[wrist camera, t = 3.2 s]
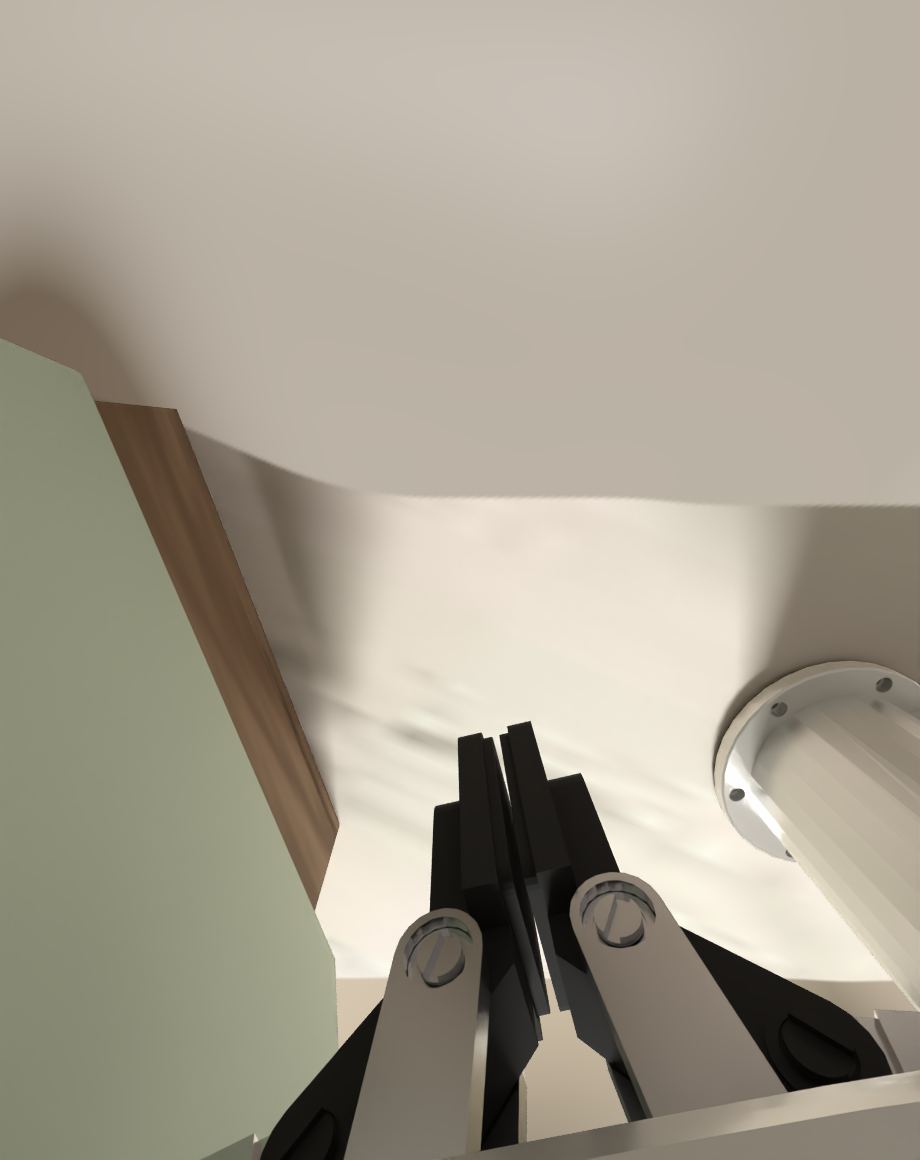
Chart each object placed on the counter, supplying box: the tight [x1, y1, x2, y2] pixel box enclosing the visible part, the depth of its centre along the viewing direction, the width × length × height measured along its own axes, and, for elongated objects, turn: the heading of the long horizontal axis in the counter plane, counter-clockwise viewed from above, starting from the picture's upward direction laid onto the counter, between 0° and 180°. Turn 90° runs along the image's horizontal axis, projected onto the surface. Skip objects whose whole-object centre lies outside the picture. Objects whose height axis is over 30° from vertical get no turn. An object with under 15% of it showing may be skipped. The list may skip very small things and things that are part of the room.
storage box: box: [94, 401, 339, 912], centre depth 23 cm, size 18×24×8 cm
